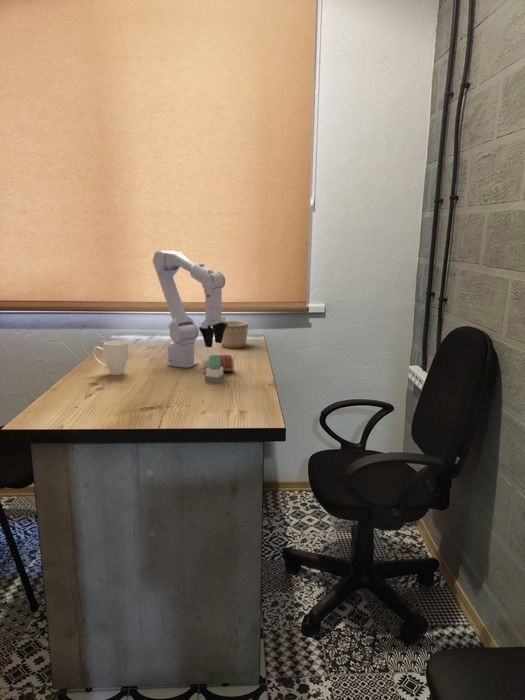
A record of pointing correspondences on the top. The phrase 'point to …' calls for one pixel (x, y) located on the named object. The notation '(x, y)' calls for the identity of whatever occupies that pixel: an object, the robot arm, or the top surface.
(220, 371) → the tower top block
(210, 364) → the teal cylinder
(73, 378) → the top surface
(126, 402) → the top surface
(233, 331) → the planter
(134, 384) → the top surface
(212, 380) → the tower base block
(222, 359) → the pill bottle
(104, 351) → the mug
